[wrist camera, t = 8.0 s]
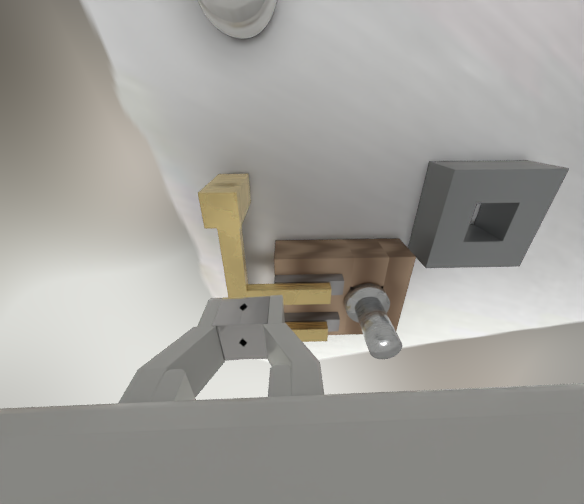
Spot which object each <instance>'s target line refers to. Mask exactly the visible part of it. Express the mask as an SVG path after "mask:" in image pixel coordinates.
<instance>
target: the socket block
mask: <svg viewBox="0 0 584 504" xmlns="http://www.w3.org/2000/svg"><path fill="white" fill-rule="evenodd" d="M415 259H416V256H415V255H414V254H413V253H412V252H411V251H410V250H409V249H408V248H407V247H406V246H405V244H404V243H403V242H402V241H401V240H400V239H337V240H276V242H275V255H274V267H275V280H274V284H289V283H330V285H331V289H332V291H331V302H330V304H306V305H284V317H285V323H288V322H327V326H328V335H345V334H363V332H362V329H361V327H360V324H359V322H356V321H353V320H352V319H351V318H350V317H349V316H348V315H347V312H346V309H345V305H344V300H345V297H346V295H347V293H348V292H349V291H350V287H356V286H358V285H361V284H366V283H371V284H376V285H379V286H380V287H382V288H383V289H384V291H385V292H386V294H387V296H388V298H389V300H390V307H389V310H388V312H387V315H388V317H389V319H390V321H391V323H392V325H393V327H394V329H395V331H396V330H397V326H398V322H399V318H400V315H401V311H402V307H403V303H404V300H405V296H406V292H407V289H408V285H409V281H410V277H411V274H412V270H413V266H414V263H415Z"/></svg>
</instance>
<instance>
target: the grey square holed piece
mask: <svg viewBox="0 0 584 504" xmlns="http://www.w3.org/2000/svg"><path fill="white" fill-rule="evenodd" d="M568 170H569V168H564V167H559V166H554V165H548V164H543V163H538V162H533V161H528V160H512V161H430V162H429V166H428V170H427V174H426V178H425V182H424V186H423V190H422V194H421V198H420V202H419V206H418V210H417V214H416V218H415V222H414V226H413V230H412V235H411V239H410V243H409V247H408V249H409V250H410V251H411V252H412V253H413V254H414V255H415V256H416V258H417V259H418V260H419V261H420V262H421V263H422V264H423V265H424V267H425V268H454V267H510V266H520V264H521V262H522V260H523V258H524V256H525V254H526V252H527V250H528V248H529V246H530V244H531V243H532V241H533V239H534V237H535V235H536V233H537V231H538V229H539V227H540V225H541V223H542V221H543V219H544V217H545V215H546V213H547V211H548V209H549V207H550V205H551V203H552V201H553V199H554V197H555V195H556V194H557V192H558V190H559V188H560V186H561V184H562V182H563V180H564V178H565V176H566V174H567V172H568ZM477 203H482V204H481V207H480V210H479V212H478V215H477V218H476V220H475V223H474V225H470V222H471V219H472V216H473V214H474V211H475V208H476V205H477Z"/></svg>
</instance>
